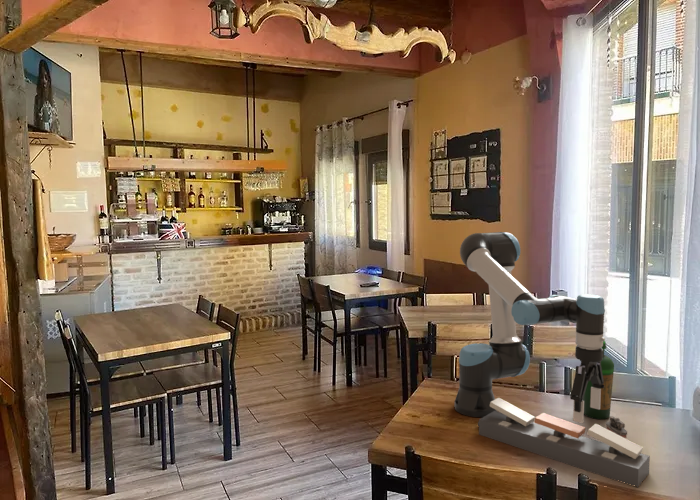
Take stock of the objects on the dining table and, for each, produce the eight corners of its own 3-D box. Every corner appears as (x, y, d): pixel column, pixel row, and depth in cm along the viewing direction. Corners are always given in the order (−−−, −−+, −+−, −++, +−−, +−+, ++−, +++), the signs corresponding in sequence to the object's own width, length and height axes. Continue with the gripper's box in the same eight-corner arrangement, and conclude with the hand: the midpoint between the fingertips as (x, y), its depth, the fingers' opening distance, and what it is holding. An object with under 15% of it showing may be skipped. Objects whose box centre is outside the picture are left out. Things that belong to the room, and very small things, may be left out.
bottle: (617, 422, 175) (619, 341, 173) (583, 420, 178) (585, 340, 175) (608, 410, 186) (610, 334, 184) (576, 408, 188) (578, 333, 186)
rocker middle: (534, 422, 158) (535, 417, 158) (542, 417, 162) (542, 412, 162) (577, 438, 149) (578, 433, 149) (584, 432, 153) (585, 427, 153)
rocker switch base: (470, 431, 170) (470, 412, 169) (486, 422, 177) (486, 403, 176) (637, 487, 135) (638, 462, 134) (649, 473, 142) (649, 449, 141)
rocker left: (489, 406, 169) (490, 401, 168) (497, 401, 173) (498, 397, 172) (525, 426, 160) (527, 421, 160) (533, 421, 164) (534, 416, 164)
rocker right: (587, 434, 147) (588, 429, 147) (594, 428, 151) (595, 423, 150) (635, 459, 138) (637, 454, 138) (641, 452, 142) (643, 447, 142)
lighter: (602, 445, 159) (603, 413, 158) (613, 444, 159) (614, 413, 158) (618, 457, 151) (619, 424, 150) (629, 457, 151) (630, 424, 150)
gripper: (586, 357, 143) (584, 431, 145) (616, 340, 161) (614, 406, 163) (559, 352, 149) (557, 423, 150) (591, 336, 166) (589, 400, 168)
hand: (587, 414), depth 157 cm, fingers open, 13 cm apart
